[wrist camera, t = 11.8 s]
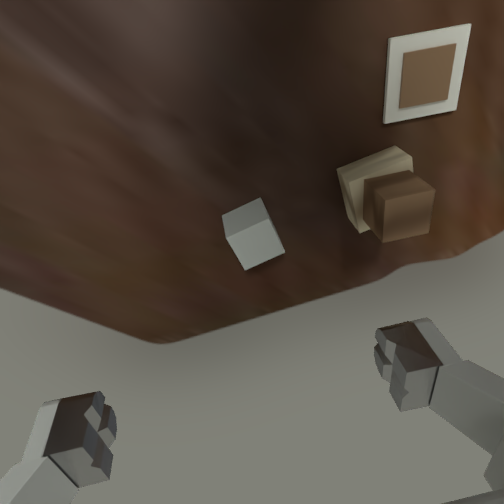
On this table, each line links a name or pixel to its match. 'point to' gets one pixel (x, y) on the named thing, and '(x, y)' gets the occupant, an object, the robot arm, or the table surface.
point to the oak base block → (365, 169)
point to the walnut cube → (397, 205)
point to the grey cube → (252, 234)
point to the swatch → (424, 72)
